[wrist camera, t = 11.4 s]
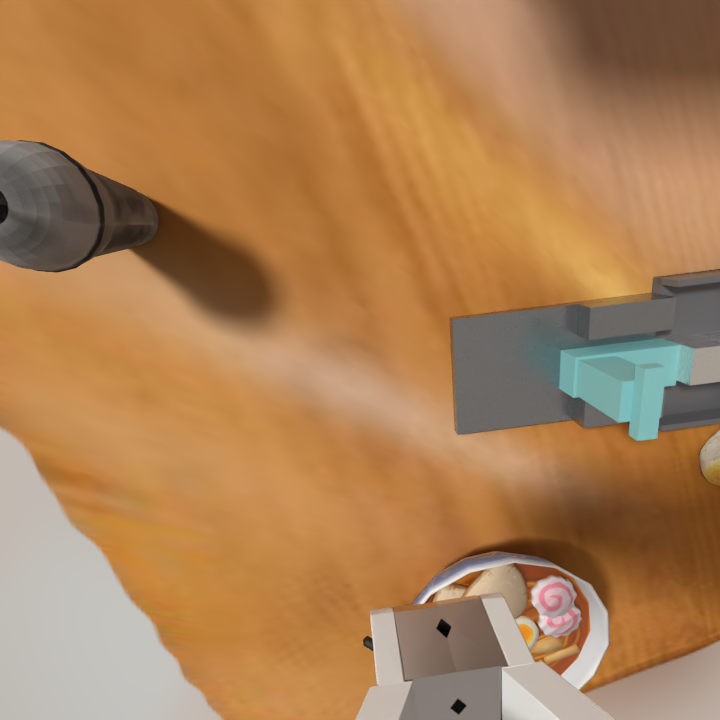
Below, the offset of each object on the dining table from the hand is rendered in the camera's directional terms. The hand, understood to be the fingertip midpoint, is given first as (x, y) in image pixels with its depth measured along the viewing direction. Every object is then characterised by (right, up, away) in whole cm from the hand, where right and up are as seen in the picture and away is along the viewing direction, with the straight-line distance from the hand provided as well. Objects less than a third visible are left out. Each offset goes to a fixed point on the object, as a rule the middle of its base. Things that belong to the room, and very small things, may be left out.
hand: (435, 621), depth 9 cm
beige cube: (+30, +7, +32) cm, 44 cm away
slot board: (+17, +6, +32) cm, 37 cm away
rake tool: (+23, +6, +31) cm, 39 cm away
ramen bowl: (+13, -22, +40) cm, 48 cm away
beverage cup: (-21, +18, +26) cm, 38 cm away
